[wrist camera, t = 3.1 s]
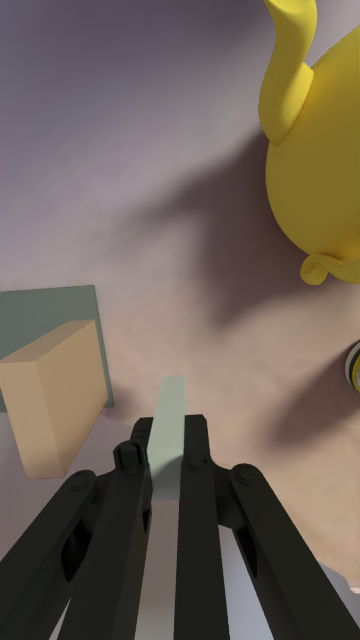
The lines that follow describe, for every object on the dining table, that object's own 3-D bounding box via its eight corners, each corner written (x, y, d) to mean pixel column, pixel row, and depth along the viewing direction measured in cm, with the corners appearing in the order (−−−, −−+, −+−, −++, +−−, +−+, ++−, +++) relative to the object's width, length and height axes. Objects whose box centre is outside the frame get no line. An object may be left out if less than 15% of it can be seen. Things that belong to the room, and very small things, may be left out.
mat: (-36, 294, 23) (-40, 295, 22) (94, 285, 22) (92, 285, 22) (-1, 410, 26) (-4, 412, 25) (113, 404, 25) (112, 407, 25)
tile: (67, 321, 23) (-9, 363, 14) (94, 319, 22) (35, 361, 14) (82, 399, 25) (24, 479, 16) (108, 398, 25) (63, 478, 16)
